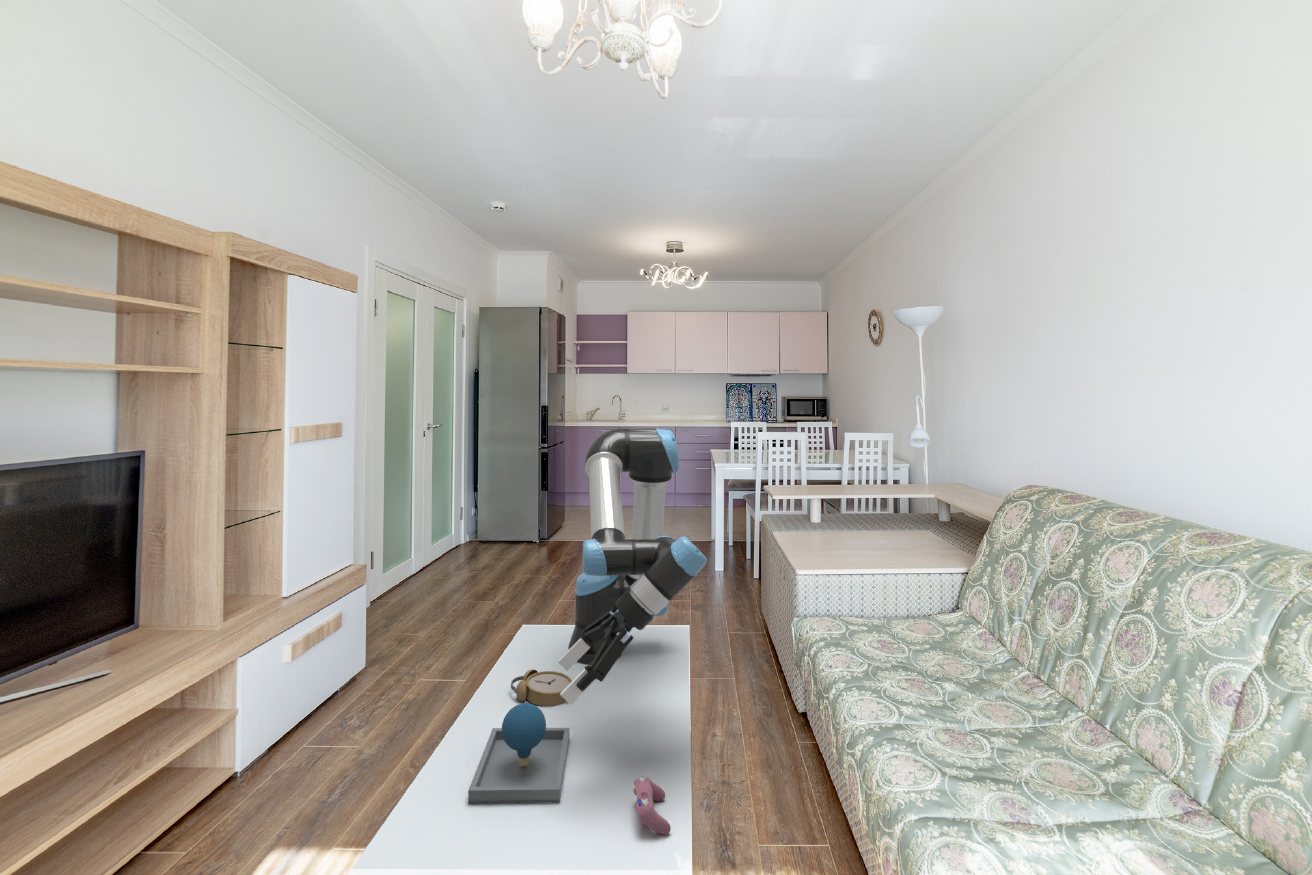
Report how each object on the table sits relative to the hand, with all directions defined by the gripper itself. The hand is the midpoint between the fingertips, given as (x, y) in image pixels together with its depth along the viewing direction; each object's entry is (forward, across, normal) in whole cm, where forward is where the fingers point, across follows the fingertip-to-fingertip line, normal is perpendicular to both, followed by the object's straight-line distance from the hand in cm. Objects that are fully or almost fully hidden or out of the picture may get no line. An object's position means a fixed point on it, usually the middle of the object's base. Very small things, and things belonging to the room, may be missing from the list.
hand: (563, 681), depth 117 cm
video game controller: (+2, -17, -22) cm, 28 cm away
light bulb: (+17, 0, -6) cm, 18 cm away
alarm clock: (+15, +29, -10) cm, 34 cm away
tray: (+17, 0, -6) cm, 18 cm away
